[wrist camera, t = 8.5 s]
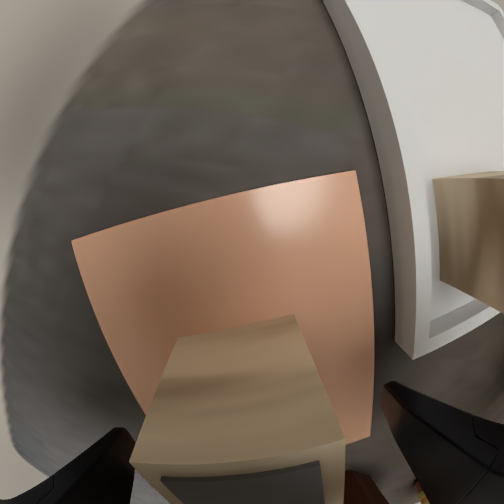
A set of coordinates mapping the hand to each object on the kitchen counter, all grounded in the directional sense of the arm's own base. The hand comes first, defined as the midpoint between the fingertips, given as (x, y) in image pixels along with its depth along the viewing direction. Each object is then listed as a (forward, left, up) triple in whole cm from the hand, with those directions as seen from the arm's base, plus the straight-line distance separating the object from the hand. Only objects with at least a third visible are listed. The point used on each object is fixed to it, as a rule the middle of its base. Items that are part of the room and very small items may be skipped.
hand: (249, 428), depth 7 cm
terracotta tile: (0, 0, -4) cm, 4 cm away
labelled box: (0, 0, -3) cm, 3 cm away
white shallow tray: (+9, -15, -4) cm, 18 cm away
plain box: (+4, -11, -3) cm, 13 cm away
